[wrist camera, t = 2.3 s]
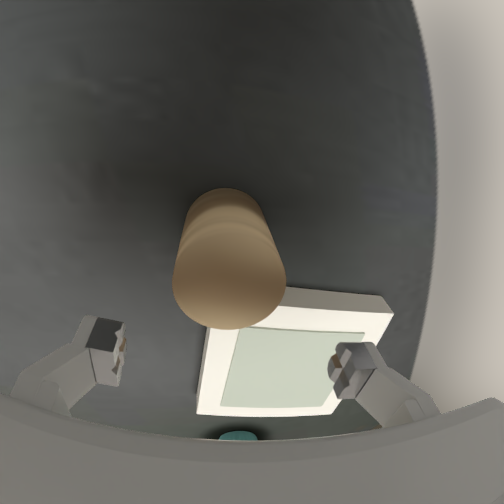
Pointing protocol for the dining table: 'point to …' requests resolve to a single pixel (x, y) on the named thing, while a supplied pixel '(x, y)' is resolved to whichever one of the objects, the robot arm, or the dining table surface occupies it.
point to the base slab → (286, 355)
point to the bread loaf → (227, 262)
